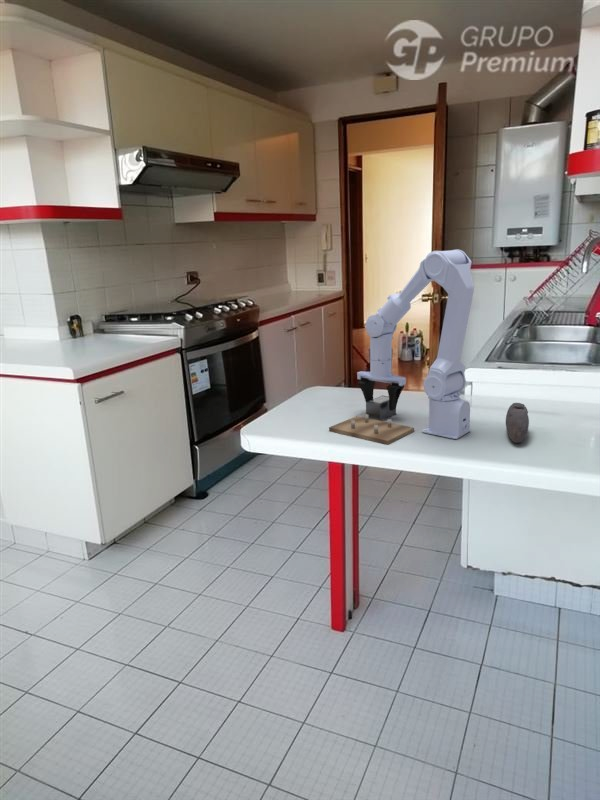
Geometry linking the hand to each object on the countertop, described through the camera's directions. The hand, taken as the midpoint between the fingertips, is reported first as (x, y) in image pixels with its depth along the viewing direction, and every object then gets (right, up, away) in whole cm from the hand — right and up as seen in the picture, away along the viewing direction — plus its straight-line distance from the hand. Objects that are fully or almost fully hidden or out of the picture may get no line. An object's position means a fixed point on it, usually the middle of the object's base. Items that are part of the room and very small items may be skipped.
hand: (381, 407), depth 155 cm
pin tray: (-4, -6, -11) cm, 13 cm away
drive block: (0, -3, +1) cm, 3 cm away
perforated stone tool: (+30, -7, -20) cm, 36 cm away
